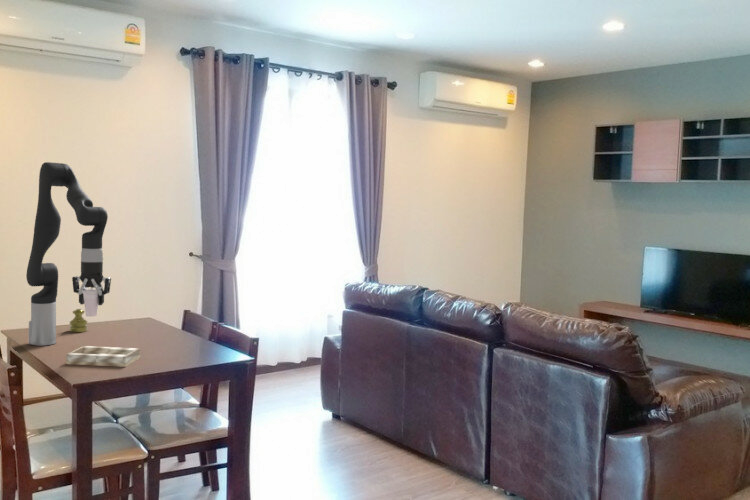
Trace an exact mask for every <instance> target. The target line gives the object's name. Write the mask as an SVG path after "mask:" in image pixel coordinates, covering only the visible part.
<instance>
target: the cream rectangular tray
mask: <svg viewBox="0 0 750 500" xmlns="http://www.w3.org/2000/svg"><path fill="white" fill-rule="evenodd" d="M140 358H141V348H137V347H136V348H135V347H120V346H119V347H116V346H92V345H82V346H81V347H79V348H76V349H74V350H73V351H70V352H68V353H66V356H65V359H66V360H65V361H66V363H65V364H66V365H78V366H98V367H99V366H101V367H102V366H103V367H118V368H119V367H121V368H123V367H124V368H126V367H128V366H129V365H131V364H133V363H134V362H136V361H137V360H139V359H140Z"/></svg>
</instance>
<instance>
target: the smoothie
mask: <svg viewBox="0 0 750 500" xmlns="http://www.w3.org/2000/svg"><path fill="white" fill-rule="evenodd" d="M82 293H83V296H84V304H83V305H84V311H85V312H84V313H85V316H86V317H96V316H98V308H99V305H98V296H99V293H98V291H97V290H96V289H95V288H92V287H90V288H87V289H86V290H85V289H84V290H82Z"/></svg>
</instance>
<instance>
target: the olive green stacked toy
mask: <svg viewBox="0 0 750 500" xmlns="http://www.w3.org/2000/svg"><path fill="white" fill-rule="evenodd" d="M85 313H86V312H85V310H84V309H81V308H76V309H75V310H73V311H72V314H73V315H74V317H73V319H72V320H70V321H69V332H70V333H85V332H87V331H88V325H87V324H88V321H87V320H86V319H85V318H84V317H83V314H85Z"/></svg>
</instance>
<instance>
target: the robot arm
mask: <svg viewBox="0 0 750 500" xmlns="http://www.w3.org/2000/svg"><path fill="white" fill-rule="evenodd" d="M52 187H65V188H66V189H67V192H66V200H67V203H68V204H69V205H70V206H71V208H72V209H73V210H74V212H75V216H76V221H77V222H78V223H79V224H80V225H81V226H85V227H87V226H88V227H93V228H92V230H89V231H86V232H84V233H82V234H81V251H80V275H79V276H78V275H77V276H76V275H75V276H72V277H71V280H72V289H73V291H72V292H73V293H76V294H78V303H79V305H85V304H84V296H83V293H82V290H84V289H85V290H86V289H89V288H91V287H92V289H96V290H97V291H98V293H99V296H98V306H102V305H103V304H104V302H105V295H107V294H110V292H111V291H110V290H111V283H112V278H111V277H104V275H103V272H104V270H103V266H104V265H103V264H104V257H103V255H104V253H103V237H104V233H105V228H106V225H107V222H108V218H109V217H108V212H107V210H106V209H105V208H104V207H102V206H94V203H93V201H92V200H91V198H90V197H89V196H88V195H87V194H86V193H87V192H85V191H84V190H83V188H82V187H81V185H80V182H79V180H78V178H77V177H76V175H75V172H74V171H73V169H72V167H71V166H70V165H68V164H67V163H60V162H52V161H51V162H50V161H49V162H48V161H46V162H44V163H42V164H41V167H40V169H39V176H38V195H37V196H38V197H37V199H38V200H37V205H36V206H37V207H36V214H35V220H34V227H33V235H32V236H33V237H32V245H31V251H30V254H29V259H28V264H27V269H26V281H27V284H28V285H29V286H30V287H42V289H40V291H38V292H36V293H33V294H32V295H31V297H30V320H29V321H28V345H32V346H39V347H41V346H50V345H51V346H52V345H55V344H56V343H57V297H58V286H59V285H58V283H59V270H58V266H57V265H56V264H55V263H53V262H46V263H45V262H44V263H43V260H44V257H45V255H46V254H47V251H48V250H49V249H50V248H51V246H52V245H53V244H54V243H55V242H56V240H57V239H58V237H59V234H60V232H61V231H60V230H61V224H62V223H61V221H62V217H61V215H60V213H59V211H58V209H57V207H56V205H55V203H54V202H53V199H52ZM80 281H81V283H82V284H81V286H80ZM102 282H103V283H104V288H103V284H102Z"/></svg>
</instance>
